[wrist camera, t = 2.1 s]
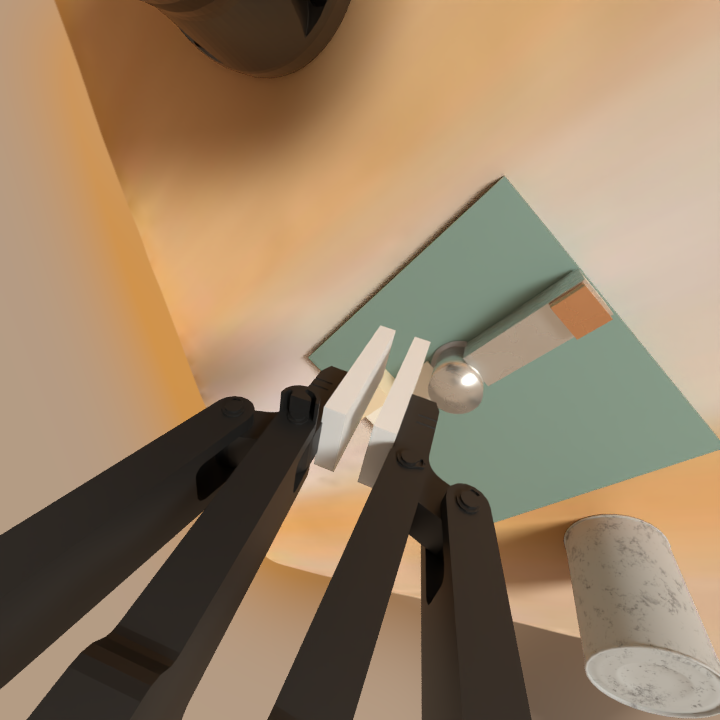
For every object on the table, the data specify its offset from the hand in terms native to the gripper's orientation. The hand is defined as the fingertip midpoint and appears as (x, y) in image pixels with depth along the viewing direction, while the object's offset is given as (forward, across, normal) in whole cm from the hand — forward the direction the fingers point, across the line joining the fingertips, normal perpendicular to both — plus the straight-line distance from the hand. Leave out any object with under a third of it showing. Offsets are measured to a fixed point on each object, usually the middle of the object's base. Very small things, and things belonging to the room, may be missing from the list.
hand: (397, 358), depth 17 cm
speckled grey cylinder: (+17, +26, -23) cm, 39 cm away
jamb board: (+16, +8, -10) cm, 21 cm away
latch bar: (+15, +7, -4) cm, 17 cm away
